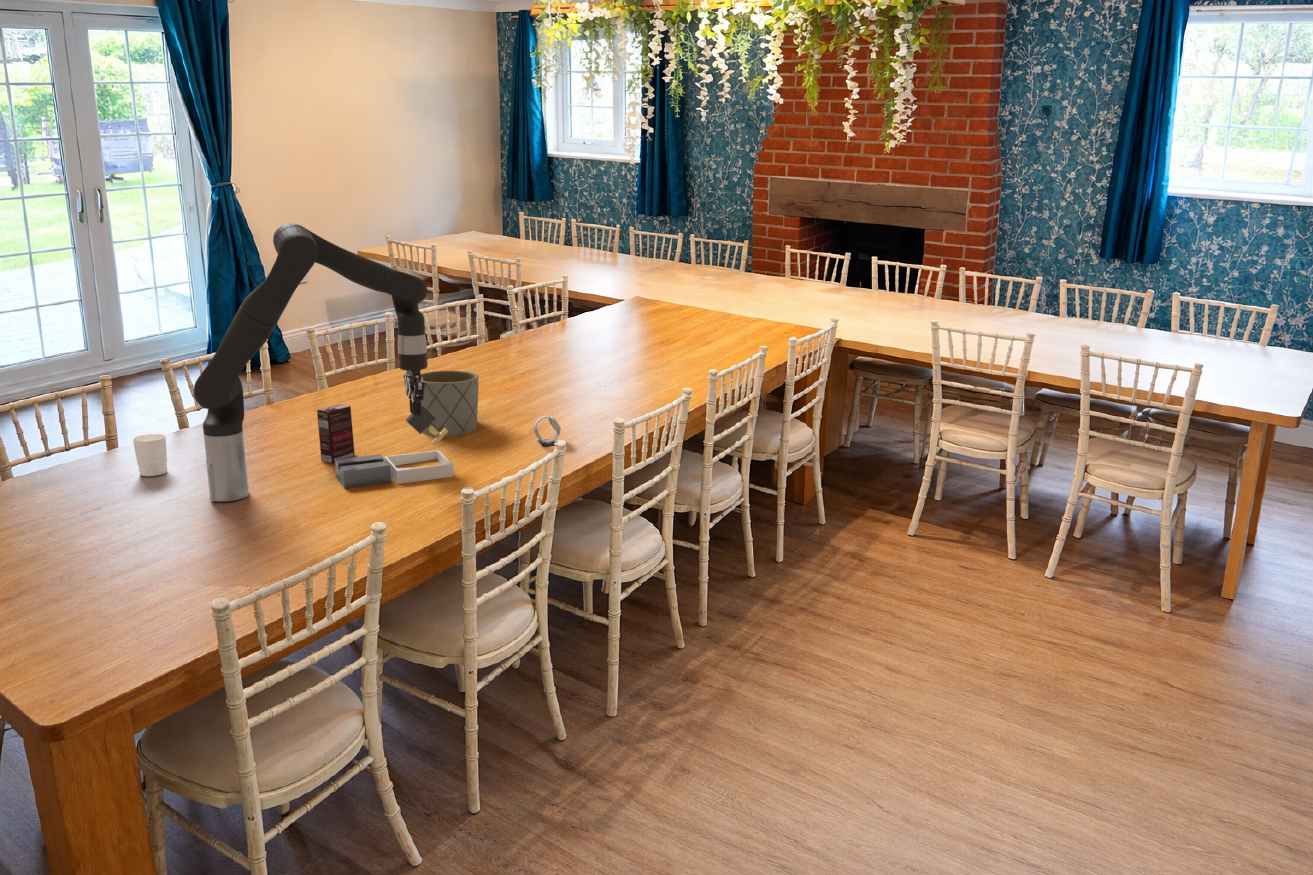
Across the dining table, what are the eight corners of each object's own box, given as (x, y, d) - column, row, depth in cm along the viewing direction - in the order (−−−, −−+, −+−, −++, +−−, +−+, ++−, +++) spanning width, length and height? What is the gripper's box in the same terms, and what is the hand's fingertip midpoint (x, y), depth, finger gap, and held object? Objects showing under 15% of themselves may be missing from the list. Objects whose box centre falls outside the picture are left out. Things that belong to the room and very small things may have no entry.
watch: (563, 453, 297) (562, 417, 294) (537, 455, 294) (536, 419, 291) (557, 448, 302) (557, 412, 299) (531, 450, 299) (531, 415, 296)
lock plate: (344, 488, 261) (343, 471, 260) (336, 476, 272) (335, 459, 270) (390, 482, 267) (389, 465, 265) (381, 470, 277) (379, 454, 276)
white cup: (174, 472, 273) (170, 437, 270) (144, 479, 267) (139, 442, 265) (162, 467, 278) (158, 432, 275) (132, 472, 272) (128, 437, 270)
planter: (407, 445, 302) (404, 381, 297) (431, 430, 320) (428, 369, 315) (468, 449, 299) (465, 384, 294) (488, 433, 317) (486, 371, 312)
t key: (447, 429, 278) (420, 404, 273) (449, 431, 276) (422, 406, 270) (432, 444, 277) (405, 420, 272) (434, 446, 275) (407, 422, 270)
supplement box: (343, 457, 290) (339, 403, 285) (355, 459, 287) (351, 405, 283) (320, 464, 282) (315, 409, 278) (332, 466, 280) (328, 411, 276)
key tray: (397, 483, 266) (396, 470, 265) (384, 468, 279) (384, 456, 278) (453, 476, 273) (453, 464, 272) (438, 462, 286) (438, 450, 285)
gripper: (433, 354, 263) (436, 418, 267) (419, 346, 274) (422, 407, 279) (404, 356, 259) (408, 421, 264) (392, 347, 271) (395, 410, 276)
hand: (415, 413), depth 271 cm, fingers closed on t key, 2 cm apart
